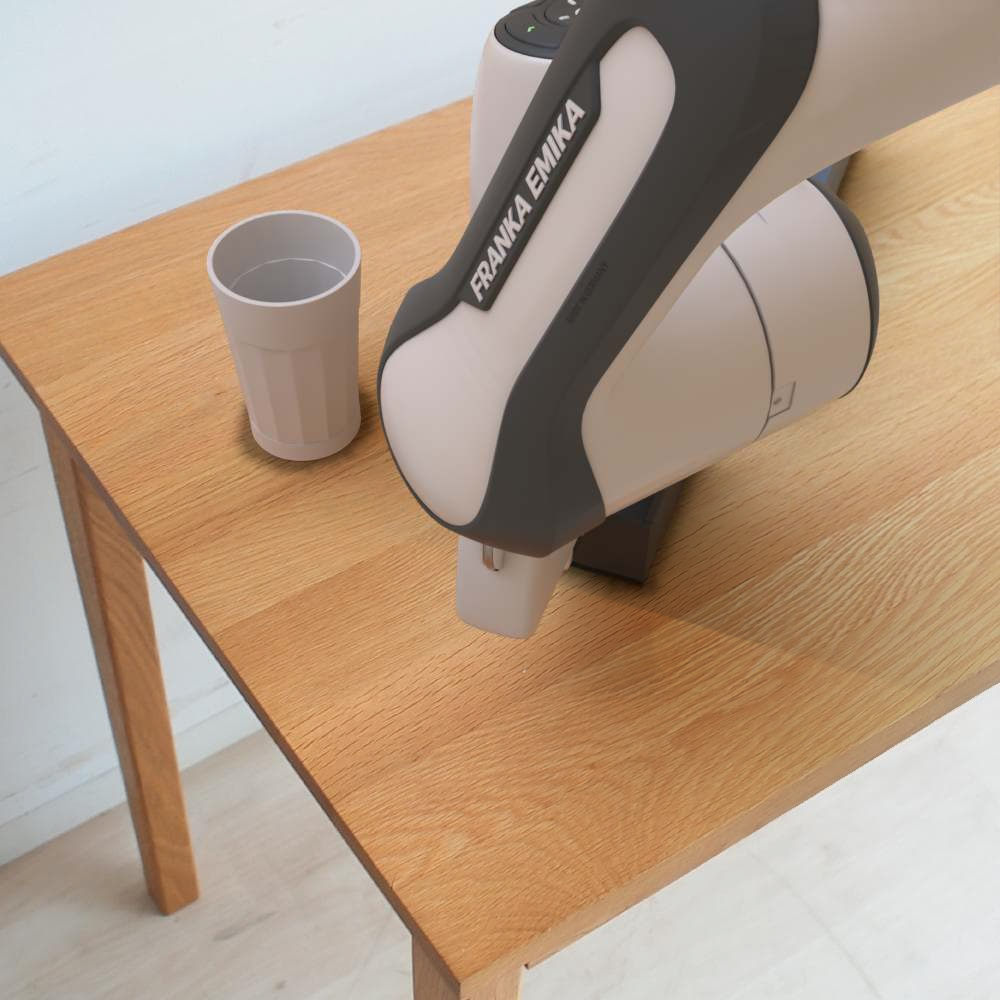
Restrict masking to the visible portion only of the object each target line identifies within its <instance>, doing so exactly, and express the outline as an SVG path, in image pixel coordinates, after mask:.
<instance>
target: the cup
mask: <svg viewBox="0 0 1000 1000" xmlns="http://www.w3.org/2000/svg"><path fill="white" fill-rule="evenodd" d="M206 271H207V274H208V278H209V281H210V284H211V288H212V291H213V294H214V298H215V301H216V304H217V308H218V311H219V314H220V317H221V321H222V325H223V328H224V332H225V336H226V339H227V343H228V346H229V350H230V353H231V356H232V360H233V364H234V367H235V371H236V375H237V378H238V381H239V385H240V389H241V392H242V396H243V399H244V402H245V406H246V410H247V414H248V417H249V418H248V419H249V424H250V428H251V429H250V430H251V435H252V436H253V439H254V440H255V442H256V443H257V445H258V446H259V447H260V448H261V449H263V450H264V451H265V452H267V453H268V454H270V455H272V456H274V457H277V458H280V459H283V460H288V461H294V462H308V461H309V462H311V461H316V460H320V459H324V458H328V457H330V456H333V455H334V454H336V453H338V452H340V451H342V450H343V449H344V448H346V447H347V446H348V445H350V444H351V443H352V441H354V439H355V438H356V436H357V434H358V433H359V430H360V428H361V424H362V415H361V404H360V396H359V384H360V383H359V376H360V375H359V371H360V370H359V367H360V366H359V363H360V360H359V357H360V356H359V355H360V353H359V352H360V350H359V349H360V307H361V292H362V291H361V288H362V287H361V286H362V246H361V244H360V241H359V239H358V237H357V236H356V234H355V233H354V232H353V231H352V229H350V228H349V227H348V226H347V225H345V224H344V223H343V222H341V221H339V220H338V219H336V218H333V217H331V216H329V215H325V214H322V213H319V212H314V211H309V210H302V209H301V210H300V209H282V210H281V209H280V210H273V211H266V212H262V213H257V214H254V215H252V216H249V217H247V218H244V219H242V220H239V221H237V222H236V223H234V224H232V225H231V226H229V227H228V228H227V229H225V230H224V231H222V232H221V233H220V234H219V235H218V236H217V237H216V239H215V240H214V241H213V243H212V244H211V246H210V248H209V249H208V252H207V256H206Z"/></svg>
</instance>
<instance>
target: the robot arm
mask: <svg viewBox="0 0 1000 1000" xmlns="http://www.w3.org/2000/svg"><path fill="white" fill-rule="evenodd" d="M474 83H475V84H474V88H473V89H474V90H473V98H472V105H471V115H470V116H471V117H470V131H469V150H468V210H469V217H470V221H469V222H468V225H467V226H466V228H465V230H464V232H463V234H462V236H461V238H460V240H459V241H458V243H457V245H456V247H455V249H454V251H453V252H452V253H451V256H450V257H449V259H448V261H446V263H445V264H444V265H443V267H442V268H441V269H439V271H437V272H436V273H435V274H433V275H431V276H430V277H427V278H426V279H423V280H421V281H419V282H417V283H415V284H413V285H412V286H410V288H409V289H408V290H407V292H406V294H405V295H404V297H403V299H402V301H401V303H400V305H399V307H398V309H397V310H396V313H395V316H394V317H393V319H392V322H391V324H390V326H389V330H388V333H387V336H386V338H385V341H384V345H383V348H382V351H381V355H380V360H379V364H378V369H377V375H376V400H377V409H378V415H379V419H380V424H381V428H382V432H383V435H384V438H385V441H386V445H387V447H388V450H389V453H390V455H391V458H392V460H393V462H394V465H395V467H396V470H397V471H398V473H399V475H400V477H401V478H402V480H403V483H404V484H405V486H406V488H407V489H408V490H409V492H410V494H411V495H412V496H413V498H414V499H415V500H416V502H417V503H418V505H419V506H420V507H421V508H422V509H423V511H424V512H425V513H426V514H427V515H428V516H429V517H430V518H431V519H433V520H434V522H436V523H437V524H439V525H440V526H441V527H443V528H445V529H447V530H448V531H451V532H453V533H454V534H457V535H458V541H457V542H458V543H457V553H456V554H457V555H456V570H455V589H454V590H455V592H454V593H455V595H454V606H455V607H454V608H455V613H456V616H457V617H458V619H459V620H460V621H461V622H463V623H464V624H466V625H468V626H470V627H471V628H475V629H477V630H480V631H483V632H486V633H490V634H493V635H496V636H499V637H503V638H508V639H514V640H528V639H529V638H532V637H533V636H534V635H535V634H536V632H537V630H538V629H539V626H540V623H541V621H542V619H543V616H544V615H545V612H546V610H547V608H548V605H549V603H550V601H551V599H552V596H553V594H554V592H555V589H556V587H557V585H558V583H559V581H560V578H561V577H562V574H563V572H564V571H566V570H568V569H569V568H570V567H571V566H570V564H571V562H572V560H573V557H574V555H575V553H576V550H577V548H578V546H579V544H580V541H581V539H582V537H583V535H584V534H585V533H586V532H588V531H590V530H591V529H593V528H595V527H597V526H598V525H600V524H602V523H603V522H604V521H605V518H606V517H608V516H610V515H612V514H614V513H616V512H618V511H620V510H622V509H624V508H626V507H628V506H630V505H632V504H634V503H636V502H638V501H640V500H642V499H644V498H646V497H648V496H650V495H652V494H654V493H656V492H658V491H660V490H662V489H664V488H666V487H668V486H670V485H672V484H674V483H676V482H678V481H680V480H682V479H684V478H686V479H687V478H688V477H690V476H693V475H694V474H696V473H699V472H700V471H702V470H705V469H707V468H708V467H711V466H713V465H715V464H716V463H719V462H721V461H723V460H725V459H727V458H729V457H731V456H733V455H735V454H736V453H740V452H741V451H742V450H745V449H746V448H748V447H749V446H751V445H754V444H755V443H757V442H759V441H762V440H764V439H765V438H768V437H769V436H771V435H774V434H776V433H778V432H780V431H782V430H783V429H786V428H788V427H789V426H791V425H793V424H795V423H797V422H799V421H801V420H803V419H805V418H807V417H808V416H811V415H812V414H814V413H817V412H819V411H820V410H822V409H824V408H825V407H827V406H829V405H830V404H832V403H834V402H836V401H837V400H840V399H842V398H844V397H846V396H847V395H848V394H850V393H852V392H853V391H854V390H855V389H856V388H857V387H858V385H859V383H860V382H861V380H862V379H863V377H864V375H865V373H866V371H867V369H868V366H869V364H870V361H871V359H872V356H873V353H874V349H875V345H876V342H877V337H878V331H879V323H880V288H879V279H878V273H877V268H876V263H875V257H874V254H873V250H872V247H871V244H870V241H869V238H868V235H867V233H866V231H865V229H864V227H863V225H862V223H861V221H860V220H859V218H858V217H857V215H856V214H855V213H854V212H853V211H852V209H851V208H850V207H849V206H848V205H847V204H846V203H845V202H844V201H843V200H842V199H841V198H840V197H839V196H838V195H837V194H834V193H833V192H832V191H831V190H830V189H828V188H827V187H826V186H824V185H823V184H822V183H820V182H819V181H817V180H816V179H814V178H813V177H811V176H813V175H814V174H816V173H818V172H820V171H822V170H823V169H825V168H827V167H829V166H830V165H832V164H834V163H836V162H838V161H839V160H841V159H843V158H845V157H847V156H849V155H851V154H852V155H853V154H855V153H857V152H858V151H860V150H863V149H864V148H866V147H868V146H871V145H872V144H874V143H877V142H879V141H881V140H883V139H885V138H887V137H888V136H891V135H893V134H895V133H898V132H899V131H901V130H903V129H905V128H908V127H909V126H912V125H914V124H915V123H918V122H920V121H922V120H924V119H927V118H929V117H931V116H933V115H936V114H937V113H939V112H941V111H944V110H946V109H948V108H950V107H953V106H955V105H956V104H959V103H961V102H963V101H966V100H968V99H970V98H973V97H974V96H977V95H980V94H981V93H983V92H985V91H988V90H990V89H992V88H994V87H996V86H999V85H1000V0H532V1H529V2H527V3H525V4H522V5H519V6H517V7H515V8H514V9H511V10H510V11H509V12H508V13H507V14H505V15H504V16H502V17H501V18H499V20H497V22H496V23H495V24H494V25H493V27H492V28H491V30H490V31H489V33H488V35H487V38H486V40H485V43H484V45H483V49H482V51H481V55H480V59H479V64H478V67H477V72H476V78H475V82H474ZM852 155H851V156H852Z"/></svg>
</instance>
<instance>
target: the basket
mask: <svg viewBox="0 0 1000 1000" xmlns="http://www.w3.org/2000/svg"><path fill="white" fill-rule="evenodd" d="M686 480H687V477H686V478H684V479H682V480H680V481H678V482H676V483H674V484H672V485H670V486H668V487H666V488H664V489H662V490H660V491H658V492H656V493H654V494H652V495H650V496H648V497H646V498H644V499H642V500H640V501H638V502H636V503H634V504H632V505H630V506H628V507H626V508H624V509H622V510H620V511H618V512H616V513H614V514H612V515H610V516H608V517H606V518H605V521H604V522H603V523H602V524H600V525H598V526H597V527H595V528H593V529H591V530H590V531H588V532H586V533H585V534H584V535H583V537H582V539H581V541H580V544H579V546H578V548H577V550H576V553H575V555H574V557H573V560H572V562H571V564H570V567H573V568H577V569H581V570H583V571H588V572H591V573H595V574H597V575H602V576H604V577H608V578H611V579H615V580H618V581H621V582H626V583H630V584H632V585H636V586H640V587H644V586H645V584H646V581H647V579H648V576H649V574H650V571H651V569H652V566H653V563H654V561H655V558H656V557H657V554H658V551H659V548H660V546H661V543H662V541H663V538H664V536H665V533H666V531H667V528H668V525H669V523H670V521H671V518H672V515H673V512H674V510H675V508H676V505H677V503H678V500H679V498H680V495H681V493H682V490H683V488H684V485H685V482H686Z"/></svg>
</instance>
